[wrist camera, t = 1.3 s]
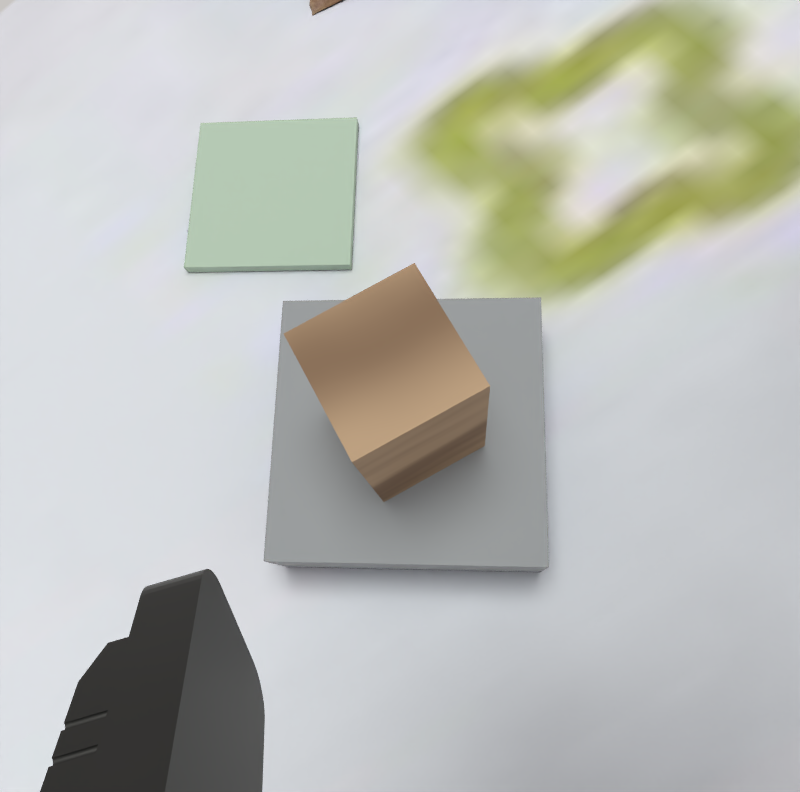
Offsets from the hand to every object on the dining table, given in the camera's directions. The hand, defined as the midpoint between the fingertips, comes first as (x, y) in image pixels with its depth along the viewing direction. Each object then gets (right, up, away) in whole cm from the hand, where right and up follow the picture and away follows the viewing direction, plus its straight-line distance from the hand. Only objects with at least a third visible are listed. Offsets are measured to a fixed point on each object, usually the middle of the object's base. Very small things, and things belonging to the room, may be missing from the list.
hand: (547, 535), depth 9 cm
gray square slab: (-1, -1, +28) cm, 28 cm away
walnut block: (-2, 0, +24) cm, 24 cm away
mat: (-9, +13, +32) cm, 36 cm away
